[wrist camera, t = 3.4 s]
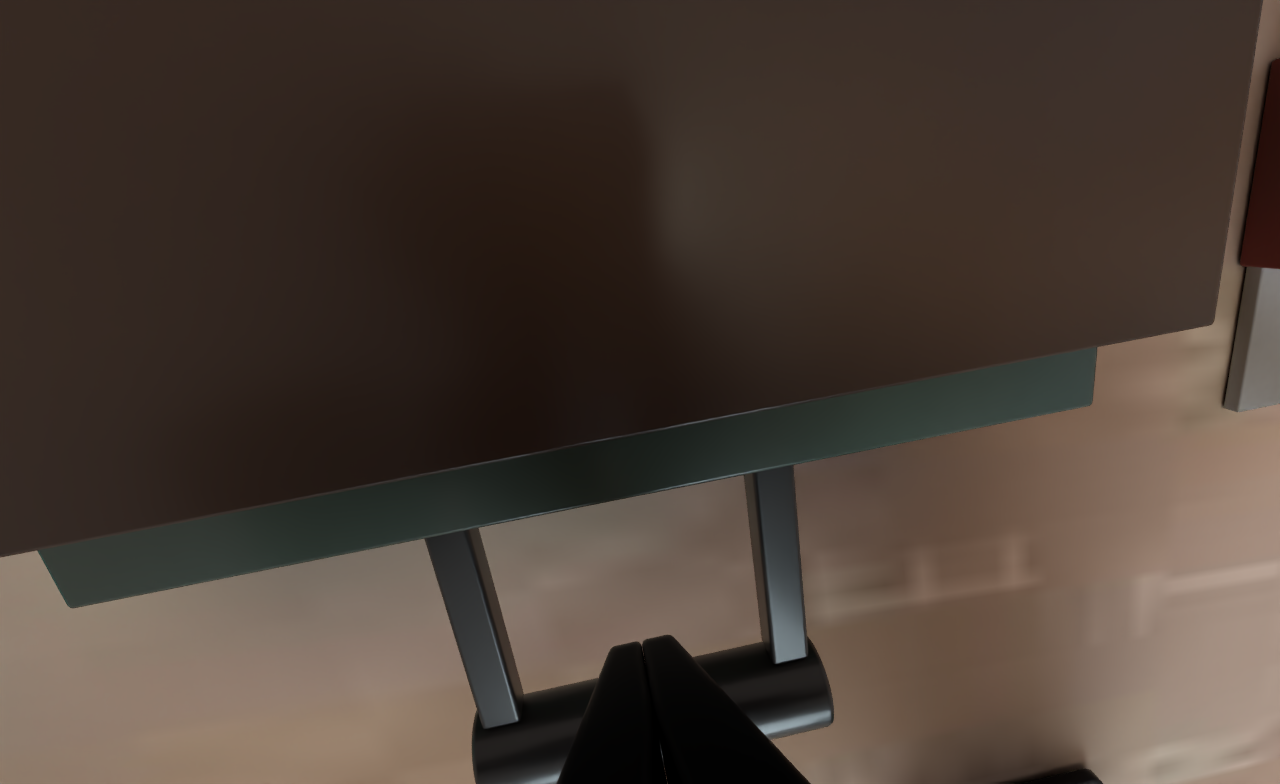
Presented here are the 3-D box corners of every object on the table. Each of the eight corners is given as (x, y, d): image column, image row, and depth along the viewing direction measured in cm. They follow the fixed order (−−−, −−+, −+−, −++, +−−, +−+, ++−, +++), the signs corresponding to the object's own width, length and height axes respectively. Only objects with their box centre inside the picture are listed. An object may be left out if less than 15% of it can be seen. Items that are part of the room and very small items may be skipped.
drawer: (884, 513, 15) (1072, 690, 10) (352, 623, 14) (215, 893, 9) (863, -257, 10) (1214, -802, 5) (58, -170, 9) (-678, -719, 4)
